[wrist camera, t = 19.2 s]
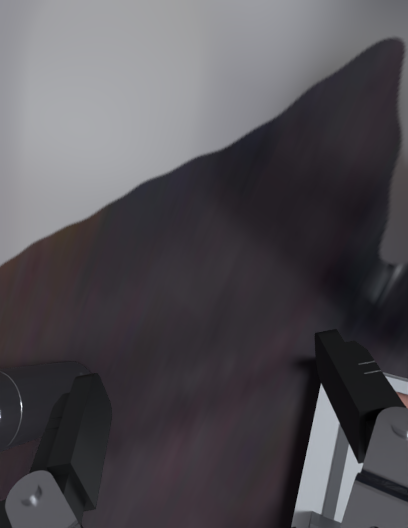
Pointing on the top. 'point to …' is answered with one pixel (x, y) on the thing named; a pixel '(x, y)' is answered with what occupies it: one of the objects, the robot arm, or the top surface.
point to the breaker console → (330, 466)
